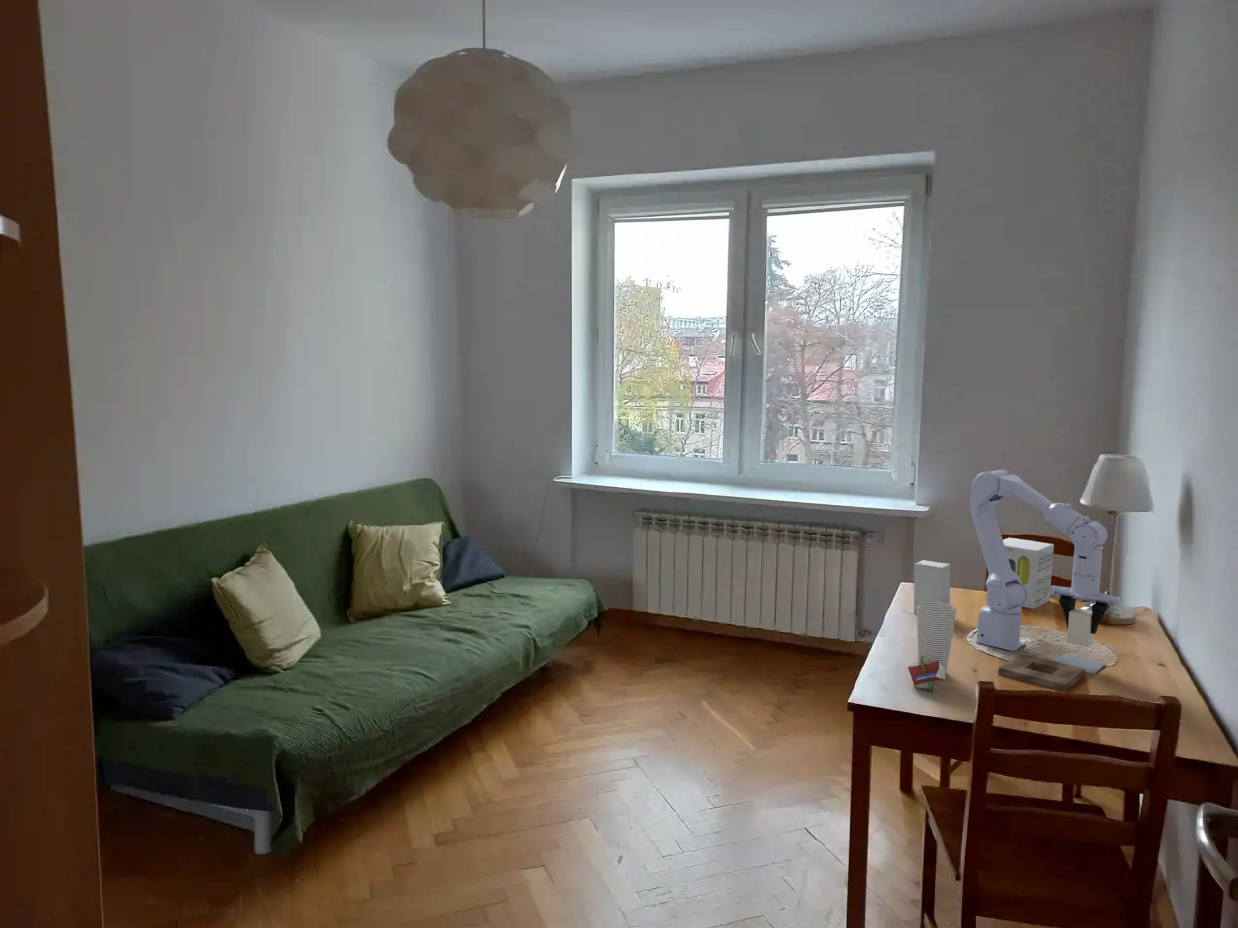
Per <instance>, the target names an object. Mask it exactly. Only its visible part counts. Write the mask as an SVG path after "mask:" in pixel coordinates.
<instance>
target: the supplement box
mask: <svg viewBox="0 0 1238 928" xmlns="http://www.w3.org/2000/svg"><path fill="white" fill-rule="evenodd" d="M1003 542H1004V546H1005V549H1006V552H1007V556H1008V559H1009V563H1010V566H1011V569H1012V570H1013V571H1014V572H1015V573H1016V574H1017V575H1018V576H1019V579H1020V582H1021V583H1022V584H1023V586H1024V587H1025V588H1026V590H1027V594H1028V597H1027V600H1026V602H1025V603H1024V604H1022V608H1026V609H1037V608H1039V607H1040V606H1043V605H1044V604H1047V603H1048V602H1050V600H1051V599H1050V598H1051V595H1050V587H1051V586H1052V585H1051V582H1052V572H1053V558H1054V549H1055V548H1054V547H1055V544H1053V543H1048V542H1041V541H1036V540H1029V539H1022V538H1021V539H1020V538H1016V537H1015V538H1014V537H1008V538H1007V537H1006V538H1004V539H1003Z"/></svg>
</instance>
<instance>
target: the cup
mask: <svg viewBox="0 0 1238 928" xmlns="http://www.w3.org/2000/svg"><path fill="white" fill-rule="evenodd" d="M956 614H957V608H956V607H955V605H952V604H951V603H950V604H947V603H943V602H936V601H923V602H919V603H918V604H917V614H916V626H917V629H916V631H917V661H918V662H917V666H918V665H922V664H921V663H919V662H920V661H921V657H923V660H924V662H925V664H927V663H931V662H927V661H928V660H929V661H935V662H937V661H939V662H940V663H941V665H942V666H943V668H944V669H945V675H946V674H947V673H948V667H949V661H950V653H951V647H952V642H953V641H952V640H953V635H954V629H955V622H956ZM924 656H925V658H924ZM927 657H928V658H927ZM930 658H931V659H930ZM927 659H928V660H927Z"/></svg>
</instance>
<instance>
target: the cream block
mask: <svg viewBox="0 0 1238 928" xmlns="http://www.w3.org/2000/svg"><path fill="white" fill-rule="evenodd" d="M1091 624H1092V610H1088V609H1083V608H1078V607H1075V608H1074V609H1073V610H1071V611H1070V612H1069V623H1068V628H1067V636H1066V637H1067V638H1066V643H1067V644H1070V645H1075V646H1081V647H1084V648H1085V647H1086V648H1090V646H1092V645H1094V644H1095V634H1096V633H1095V634H1091Z"/></svg>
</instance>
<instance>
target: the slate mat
mask: <svg viewBox="0 0 1238 928" xmlns="http://www.w3.org/2000/svg"><path fill="white" fill-rule="evenodd" d="M1054 661H1056V662H1060V663H1064V664H1068V665H1072V666H1076V667H1080V668H1085V674H1088V675H1092V676H1095V675H1096V674H1097V673H1099V671H1101V670H1102V669H1103V668H1105V666H1106V663H1104V662H1099V661H1096V660H1091V659H1087V658H1083V657H1080V656H1079V657H1078V656H1074V655H1069V654H1065V653H1064V654H1062V655H1061V656H1059V657H1058V658H1056V659H1055V660H1054ZM1102 667H1103V668H1102ZM1101 668H1102V669H1101Z"/></svg>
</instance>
